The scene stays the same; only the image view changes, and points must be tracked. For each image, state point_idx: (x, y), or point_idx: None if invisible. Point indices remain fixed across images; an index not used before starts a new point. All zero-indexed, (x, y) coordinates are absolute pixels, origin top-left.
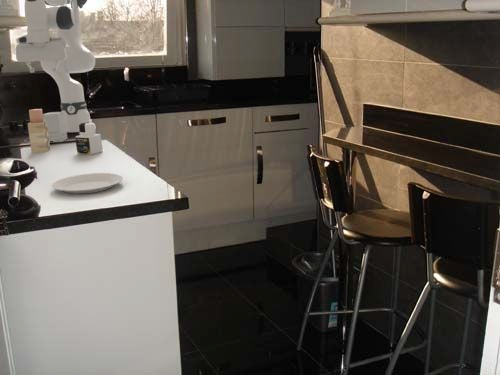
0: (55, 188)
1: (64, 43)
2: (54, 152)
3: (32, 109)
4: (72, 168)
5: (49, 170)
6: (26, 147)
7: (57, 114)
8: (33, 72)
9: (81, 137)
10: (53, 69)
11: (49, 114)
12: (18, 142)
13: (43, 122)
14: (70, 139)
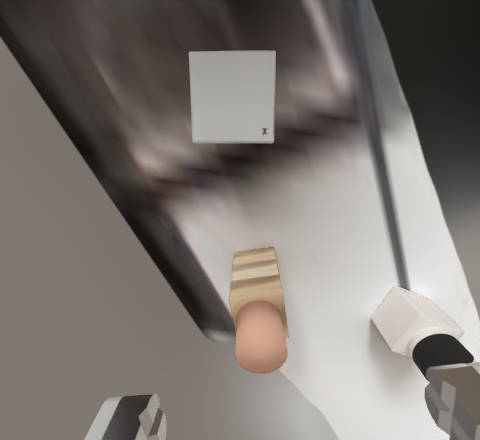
0: None
1: None
2: (302, 290)
3: (242, 342)
4: (390, 425)
5: (350, 432)
6: (186, 212)
7: (271, 142)
8: (160, 417)
9: (410, 358)
10: (454, 434)
11: (230, 141)
12: (104, 116)
13: (287, 328)
14: (280, 83)
